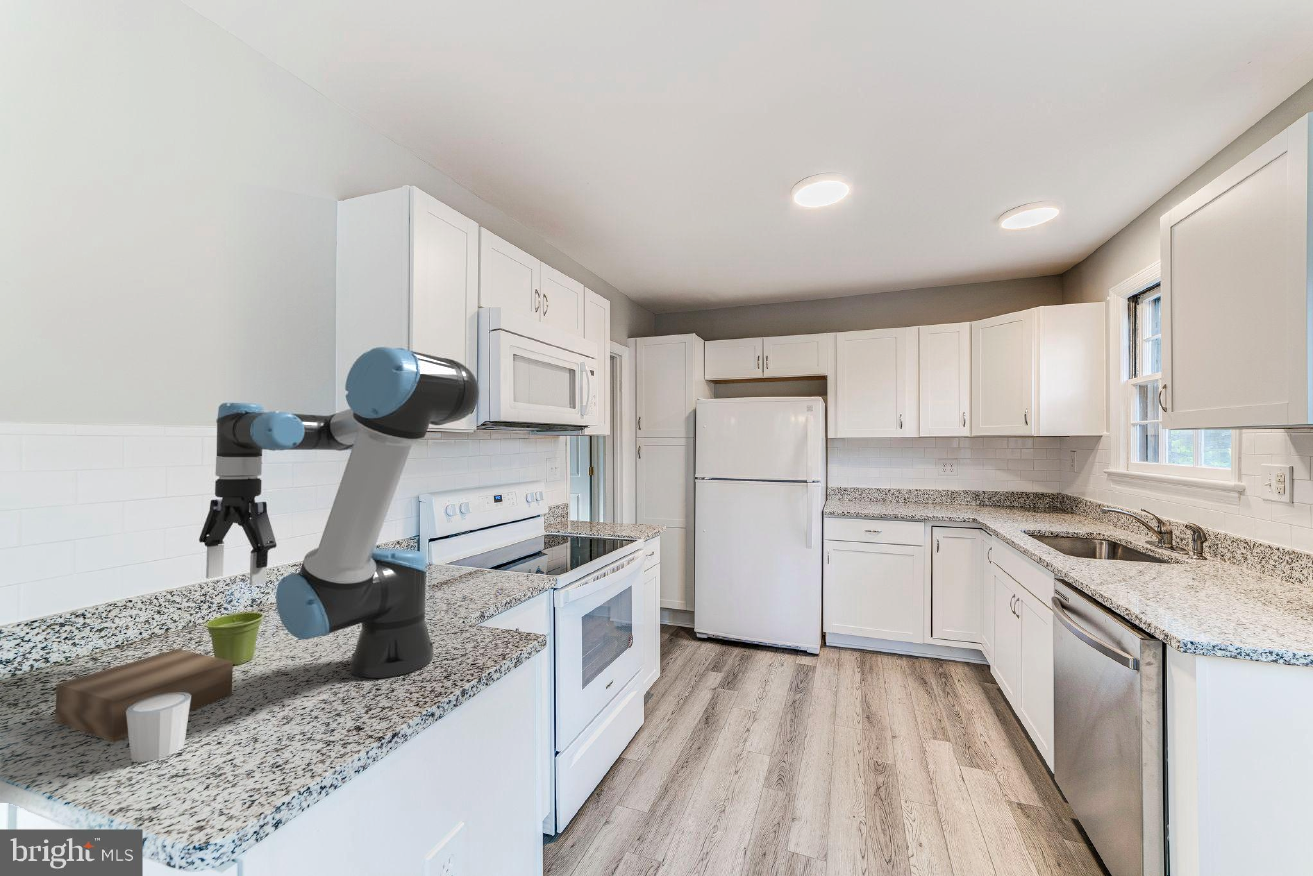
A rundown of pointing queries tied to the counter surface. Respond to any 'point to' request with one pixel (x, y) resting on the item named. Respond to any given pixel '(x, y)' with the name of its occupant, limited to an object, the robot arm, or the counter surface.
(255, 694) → the counter surface
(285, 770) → the counter surface
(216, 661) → the walnut block
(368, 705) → the counter surface
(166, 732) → the white tapered cup
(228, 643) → the plant pot
